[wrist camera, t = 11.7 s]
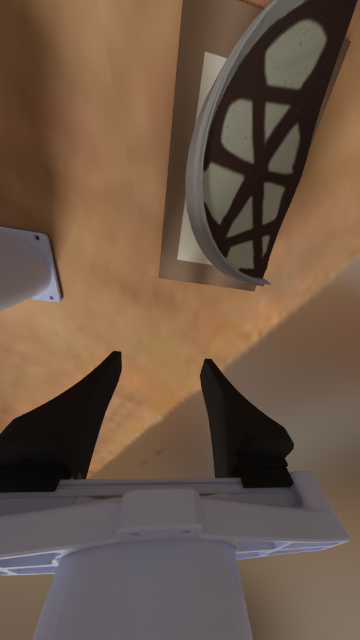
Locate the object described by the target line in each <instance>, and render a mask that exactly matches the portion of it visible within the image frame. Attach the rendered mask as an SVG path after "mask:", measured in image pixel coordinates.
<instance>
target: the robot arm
mask: <svg viewBox="0 0 360 640" xmlns="http://www.w3.org/2000/svg"><path fill="white" fill-rule="evenodd" d="M37 235H38V236H39V240H38V239H37ZM52 297H53V298H54V299H53V298H52ZM28 299H35V300H44V301H53V302H59V301H61V300H62V298H61V293H60V288H59V284H58V279H57V274H56V270H55V265H54V260H53V256H52V251H51V246H50V242H49V238H48V236H47V235H45V234H43V233H37V232H31V231H25V230H18V229H12V228H6V227H0V311H2V310H5V309H7V308H9V307H11V306H14V305H16V304H18V303H21V302H23V301H25V300H28ZM121 371H122V361H121V352H119V351H113V352H112V353H111V354H110V355H109V356H108V357H107V358H106V359H105V360H104V361H103V362H102V363H101V364H100V365H98V366H97V367H96V368H95V369H94V370H93V371H92V372H90V373H89V374H88V375H87V376H86V377H84V378H83V379H82V380H81V381H79V382H78V383H77V384H75V385H74V386H72V387H71V388H69V389H68V390H66V391H65V392H63V393H62V394H60V395H59V396H57V397H55V398H54V399H52V400H50V401H48V402H47V403H45V404H43V405H41V406H39V407H37V408H36V409H34V410H32V411H30V412H28V413H26V414H23V415H21V416H19V417H17V418H15V419H13V420H12V422H11V423H10V424H9V425H8V426H7V427H6V428H5V429H4V430H3V431H2V433H1V434H0V575H27V574H55V575H54V578H53V582H52V584H51V587H50V590H49V593H48V595H47V598H46V601H45V604H44V607H43V610H42V613H41V616H40V618H39V622H38V624H37V627H36V630H35V633H34V636H33V639H32V640H253V638H252V633H251V628H250V623H249V618H248V613H247V608H246V603H245V598H244V594H243V589H242V584H241V579H240V574H239V569H238V564H237V560H239V559H246V558H255V557H263V556H271V555H280V554H288V553H298V552H308V551H321V550H324V549H327V548H330V547H333V546H336V545H339V544H342V543H345V542H348V541H350V537H349V535H348V533H347V532H346V530H345V528H344V527H343V525H342V523H341V522H340V520H339V519H338V517H337V515H336V513H335V512H334V510H333V508H332V507H331V505H330V503H329V502H328V500H327V498H326V497H325V495H324V493H323V492H322V490H321V488H320V487H319V485H318V483H317V481H316V480H315V478H314V477H313V475H312V473H311V472H309V471H295V472H290V473H289V472H288V470H287V468H286V467H287V466H288V464H287V462H286V460H285V457H286V456H287V455H288V454H289V453H290V452H291V451H292V449H293V447H294V443H293V441H292V440H291V438H290V436H289V435H288V433H287V431H286V430H285V428H284V427H283V426H281V425H280V424H278V423H277V422H275V421H274V420H272V419H271V418H269V417H268V416H267V415H265V414H264V413H263V412H261V411H260V410H259V409H257V408H256V407H255V406H254V405H253V404H251V403H250V402H249V401H248V400H247V399H246V398H245V397H244V396H242V395H241V394H240V393H239V392H238V391H237V390H236V389H235V388H234V386H233V385H232V384H231V383H230V382H229V381H228V380H227V378H225V376H224V375H223V373H222V372H221V371H220V370H219V368H218V367H217V366H216V364H215V363H214V362H213V360H212V359H205V360H204V363H203V367H202V370H201V374H200V380H201V387H202V392H203V396H204V400H205V404H206V408H207V413H208V418H209V425H210V432H211V440H212V449H213V459H214V470H215V478H183V479H182V478H181V479H179V478H178V479H86V476H87V473H88V469H89V465H90V462H91V458H92V455H93V451H94V448H95V444H96V441H97V438H98V434H99V431H100V428H101V425H102V421H103V418H104V415H105V412H106V410H107V407H108V405H109V402H110V400H111V398H112V395H113V393H114V391H115V388H116V386H117V383H118V381H119V378H120V374H121Z"/></svg>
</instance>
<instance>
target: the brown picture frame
mask: <svg viewBox="0 0 360 640" xmlns="http://www.w3.org/2000/svg"><path fill="white" fill-rule="evenodd" d="M263 10H264V9H261V8H258V7H255V6H253V5H250V4H247V3H245V2H242V1H239V0H183V4H182V15H181V27H180V38H179V50H178V61H177V73H176V85H175V96H174V108H173V119H172V131H171V142H170V154H169V165H168V177H167V189H166V200H165V212H164V223H163V235H162V246H161V258H160V269H159V278H163V279H170V280H177V281H184V282H192V283H199V284H206V285H213V286H220V287H227V288H235V289H242V290H249V291H255V288H256V286H257V285H253V284H247V283H242V282H239V281H237V280H234V279H231V278H230V277H228V276H226V275H225V274H223V273H221V272H220V271H219V270H218V269H217V268H215V267H214V266H213V265H212V264H211V263H210V261H209V260H208V259H207V258H206V257H205V255H204V254H203V252H202V250H201V249H200V247H199V245H198V244H197V241H196V239H195V236H194V234H193V231H192V229H191V225H190V221H189V216H188V212H187V203H186V193H185V187H186V167H187V160H188V153H189V147H190V143H191V139H192V135H193V132H194V128H195V124H196V121H197V119H198V116H199V114H200V111H201V108H202V106H203V103H204V101H205V98H206V96H207V95H208V93H209V91H210V89H211V87H212V85H213V83H214V82H215V80H216V78H217V76H218V74H219V72H220V71H221V69H222V67H223V66H224V64H225V62H226V60H227V59H228V57H229V55H230V53H231V52H232V50H233V48H234V47H235V45H236V44H237V43H238V41H239V40H240V38H241V37H242V36H243V34H244V33H245V31H246V30H247V29H248V27H249V26H250V24H251V23H252V22H253V20H254V19H255V18H256V17H257V16H258V15H259V14H260V13H261V12H262V11H263ZM350 42H351V41H348V40H345V39H344V41H343V44H342V47H341V50H340V53H339V56H338V59H337V61H336V64H335V67H334V70H333V73H332V76H331V79H330V82H329V85H328V88H327V91H326V94H325V97H324V100H323V103H322V106H321V109H320V112H319V116H318V119H317V123H316V126H315V129H314V133H313V137H312V140H313V138H314V135H315V133H316V130H317V127H318V125H319V122H320V120H321V117H322V114H323V112H324V109H325V107H326V104H327V102H328V99H329V96H330V94H331V91H332V89H333V86H334V83H335V81H336V78H337V76H338V73H339V70H340V68H341V65H342V63H343V60H344V57H345V55H346V52H347V50H348V47H349V44H350ZM311 143H312V141H311ZM310 146H311V144H310Z"/></svg>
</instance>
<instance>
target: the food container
mask: <svg viewBox="0 0 360 640" xmlns="http://www.w3.org/2000/svg"><path fill="white" fill-rule="evenodd" d="M357 2H358V0H272V1H271V2H270V3H269V5H268V6H267V7H266V8H265V9H264V10H263V11H262V12H261V13H260V14H259V15H258V16H257V17H256V18H255V19H254V20H253V22H252V23H251V24H250V26H249V27H248V29H247V30H246V31H245V33H244V34H243V36H242V37H241V38H240V40H239V41H238V43H237V44H236V45H235V47H234V48H233V50H232V52H231V53H230V55H229V57H228V59H227V60H226V62H225V64H224V66H223V67H222V69H221V71H220V72H219V74H218V76H217V78H216V80H215V82H214V83H213V85H212V87H211V89H210V91H209V93H208V95H207V96H206V98H205V101H204V103H203V106H202V108H201V111H200V114H199V116H198V119H197V121H196V124H195V128H194V132H193V135H192V139H191V143H190V147H189V153H188V160H187V167H186V187H185V193H186V203H187V212H188V216H189V221H190V225H191V229H192V231H193V234H194V236H195V239H196V241H197V244H198V245H199V247H200V249H201V250H202V252H203V254H204V255H205V257H206V258H207V259H208V260H209V261H210V263H211V264H212V265H213V266H214V267H215V268H217V269H218V270H219V271H220V272H221V273H223V274H225V275H226V276H228V277H230V278H231V279H234V280H237V281H239V282H242V283H247V284H253V285H260V286H264V284H269V285H270V284H271V283H269V282H268V281H266V280H265V279H263V276H264V273H265V271H266V269H267V265H268V261H269V257H270V254H271V251H272V248H273V245H274V243H275V240H276V237H277V234H278V232H279V229H280V227H281V224H282V222H283V219H284V217H285V215H286V212H287V210H288V208H289V205H290V203H291V201H292V198H293V196H294V193H295V191H296V188H297V186H298V183H299V181H300V178H301V176H302V172H303V169H304V166H305V162H306V159H307V156H308V152H309V148H310V144H311V141H312V137H313V133H314V129H315V126H316V123H317V119H318V116H319V112H320V109H321V106H322V103H323V100H324V97H325V94H326V91H327V88H328V85H329V82H330V79H331V76H332V73H333V70H334V67H335V64H336V61H337V59H338V56H339V53H340V50H341V47H342V44H343V41H344V38H345V35H346V32H347V29H348V27H349V24H350V21H351V18H352V15H353V12H354V9H355V6H356V3H357Z"/></svg>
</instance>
